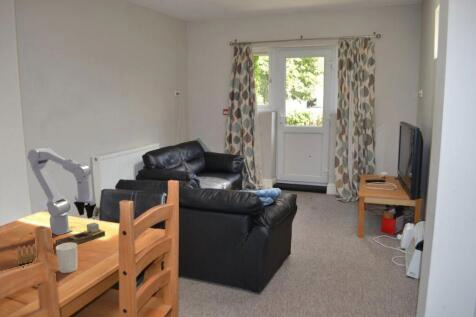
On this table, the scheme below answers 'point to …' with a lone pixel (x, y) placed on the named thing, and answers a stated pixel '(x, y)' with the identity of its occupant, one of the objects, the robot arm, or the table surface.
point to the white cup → (67, 257)
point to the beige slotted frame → (77, 237)
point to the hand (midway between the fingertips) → (85, 216)
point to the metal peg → (93, 228)
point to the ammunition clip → (25, 259)
